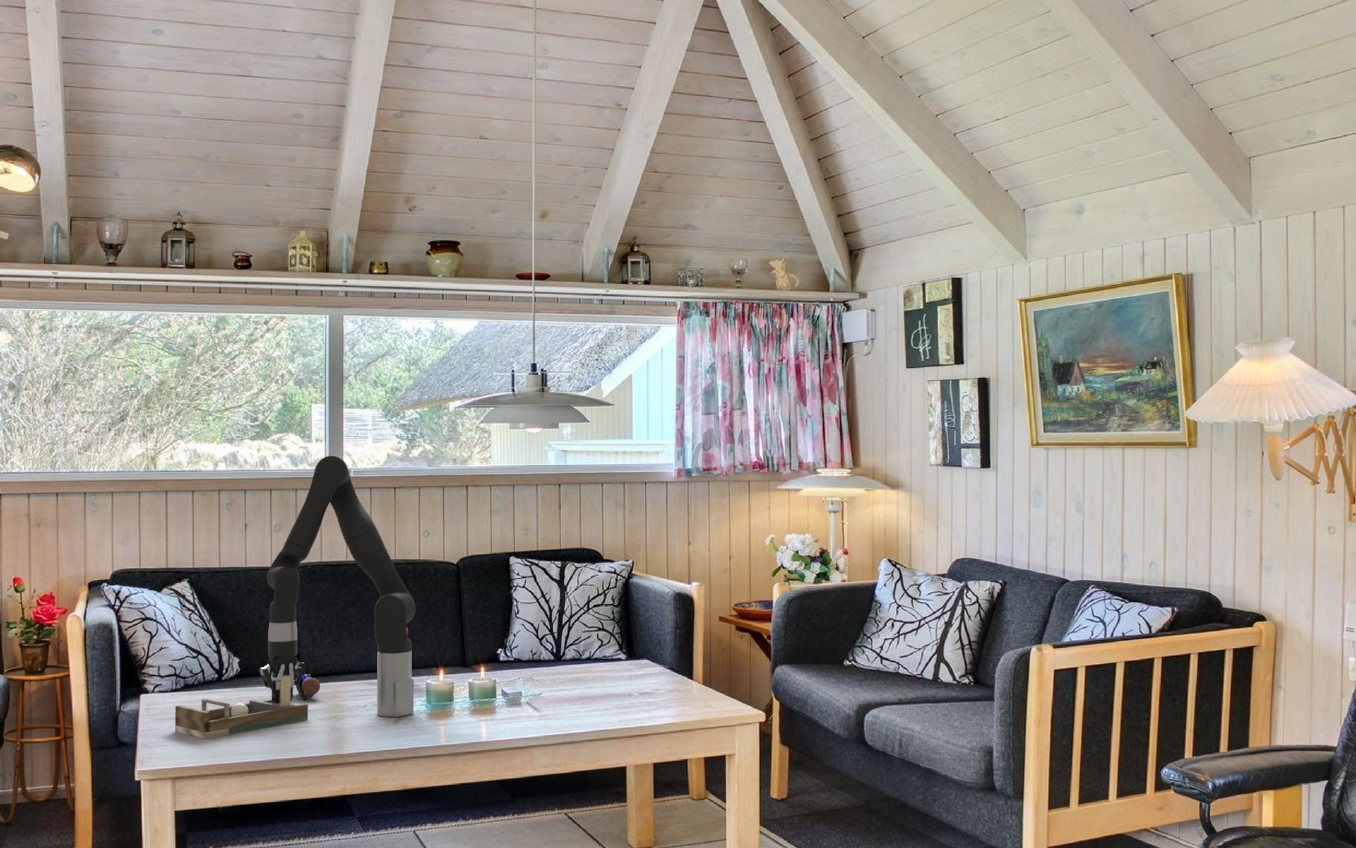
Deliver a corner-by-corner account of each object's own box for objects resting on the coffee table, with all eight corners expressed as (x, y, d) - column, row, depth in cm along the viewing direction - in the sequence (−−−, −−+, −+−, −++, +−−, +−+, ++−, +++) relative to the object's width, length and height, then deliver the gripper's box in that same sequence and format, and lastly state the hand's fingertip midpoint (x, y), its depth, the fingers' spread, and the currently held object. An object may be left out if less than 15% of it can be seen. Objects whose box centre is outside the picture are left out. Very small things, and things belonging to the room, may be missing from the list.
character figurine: (312, 692, 375) (320, 701, 362) (288, 693, 372) (294, 702, 359) (315, 666, 376) (322, 674, 362) (290, 666, 373) (296, 674, 359)
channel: (307, 719, 334) (307, 691, 335) (205, 738, 311) (205, 708, 311) (276, 712, 343) (277, 685, 344) (175, 731, 320) (175, 702, 320)
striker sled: (300, 712, 335) (300, 676, 335) (272, 717, 328) (272, 680, 328) (277, 707, 341) (277, 672, 342) (249, 712, 335) (249, 676, 335)
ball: (251, 719, 327) (251, 703, 327) (236, 722, 323) (236, 705, 323) (242, 717, 329) (242, 701, 330) (227, 720, 326) (227, 703, 326)
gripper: (267, 642, 329) (267, 708, 329) (313, 636, 340) (312, 699, 340) (252, 640, 334) (251, 704, 333) (297, 634, 345) (296, 696, 344)
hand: (282, 701), depth 337 cm, fingers closed on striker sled, 3 cm apart
